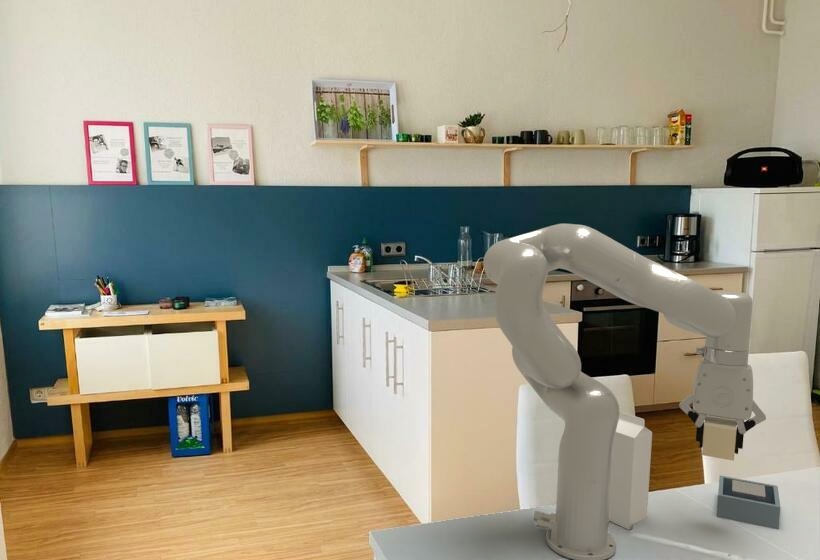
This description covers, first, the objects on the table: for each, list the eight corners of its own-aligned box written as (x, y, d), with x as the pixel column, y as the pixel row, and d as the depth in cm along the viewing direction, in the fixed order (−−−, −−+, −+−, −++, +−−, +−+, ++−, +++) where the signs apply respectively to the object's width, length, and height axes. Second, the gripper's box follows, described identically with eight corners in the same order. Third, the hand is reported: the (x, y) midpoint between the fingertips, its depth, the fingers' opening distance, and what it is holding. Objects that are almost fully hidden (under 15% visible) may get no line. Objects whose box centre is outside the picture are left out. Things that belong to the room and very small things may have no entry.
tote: (716, 521, 133) (718, 495, 132) (717, 499, 142) (719, 475, 142) (778, 534, 128) (780, 507, 127) (775, 510, 137) (777, 485, 137)
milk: (629, 530, 128) (635, 422, 125) (603, 518, 133) (609, 413, 130) (647, 521, 132) (653, 416, 129) (621, 510, 137) (627, 408, 134)
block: (730, 513, 134) (732, 490, 133) (730, 502, 139) (732, 479, 138) (763, 520, 131) (765, 496, 130) (762, 508, 136) (764, 485, 136)
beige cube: (701, 455, 125) (704, 422, 124) (703, 445, 130) (705, 414, 129) (733, 460, 122) (736, 427, 122) (734, 451, 127) (736, 418, 126)
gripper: (675, 354, 124) (669, 446, 126) (778, 366, 117) (769, 464, 119) (678, 347, 131) (672, 434, 133) (776, 358, 123) (768, 450, 125)
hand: (718, 447), depth 126 cm, fingers closed on beige cube, 5 cm apart
